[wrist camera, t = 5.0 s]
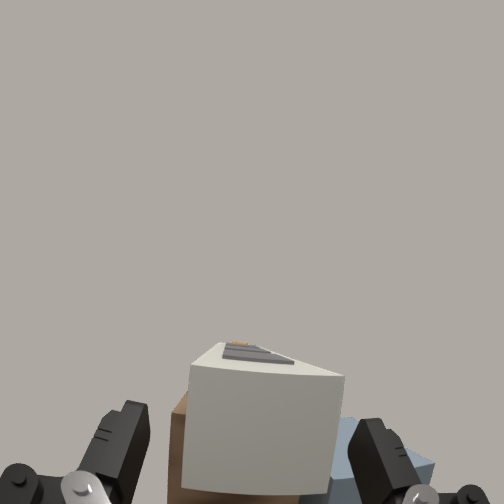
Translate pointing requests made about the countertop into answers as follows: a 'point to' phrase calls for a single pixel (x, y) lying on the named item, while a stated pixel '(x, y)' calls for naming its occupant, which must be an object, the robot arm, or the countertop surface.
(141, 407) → the robot arm
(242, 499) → the walnut stand
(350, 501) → the blue stand
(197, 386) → the light grey square-ended block
